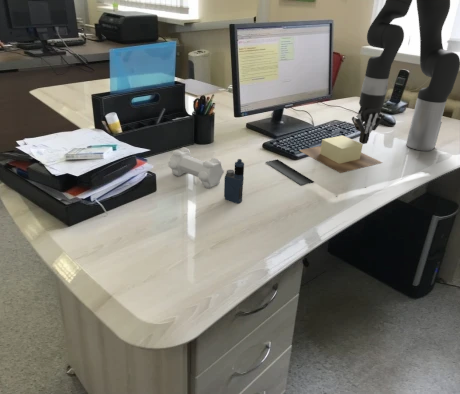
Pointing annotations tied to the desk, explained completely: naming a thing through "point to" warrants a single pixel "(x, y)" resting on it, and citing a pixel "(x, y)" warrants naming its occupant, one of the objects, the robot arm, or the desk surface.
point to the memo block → (341, 149)
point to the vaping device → (234, 183)
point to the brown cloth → (341, 167)
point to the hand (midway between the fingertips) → (363, 142)
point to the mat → (289, 172)
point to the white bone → (196, 167)
